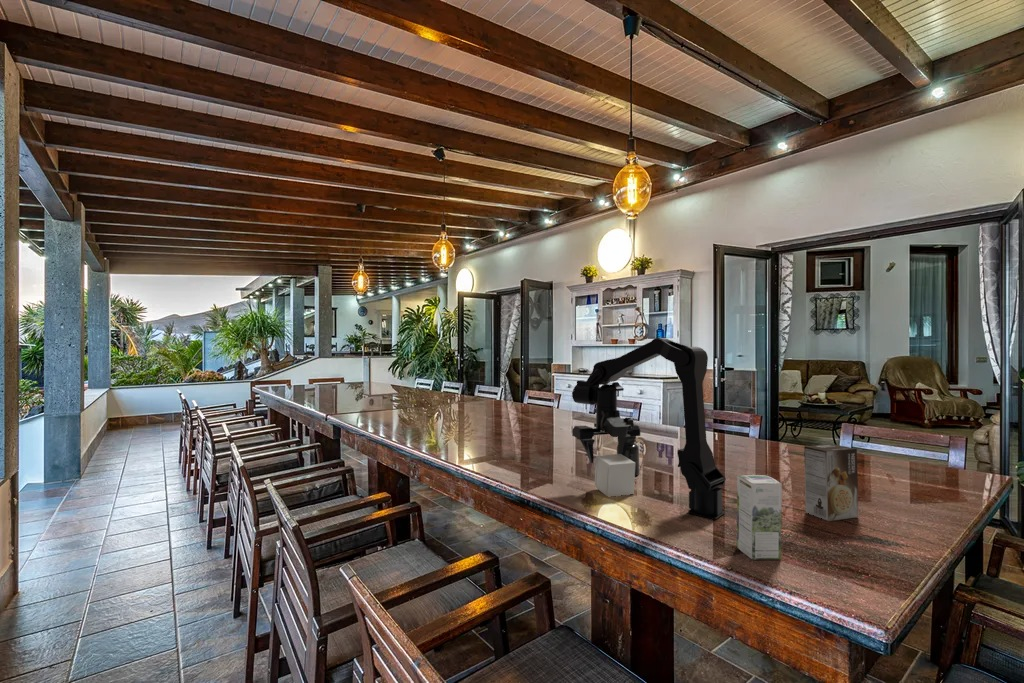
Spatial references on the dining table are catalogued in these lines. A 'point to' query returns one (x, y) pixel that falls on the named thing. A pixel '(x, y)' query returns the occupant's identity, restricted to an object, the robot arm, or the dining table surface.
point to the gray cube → (614, 475)
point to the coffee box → (831, 482)
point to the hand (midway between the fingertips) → (606, 461)
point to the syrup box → (759, 516)
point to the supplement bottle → (633, 454)
